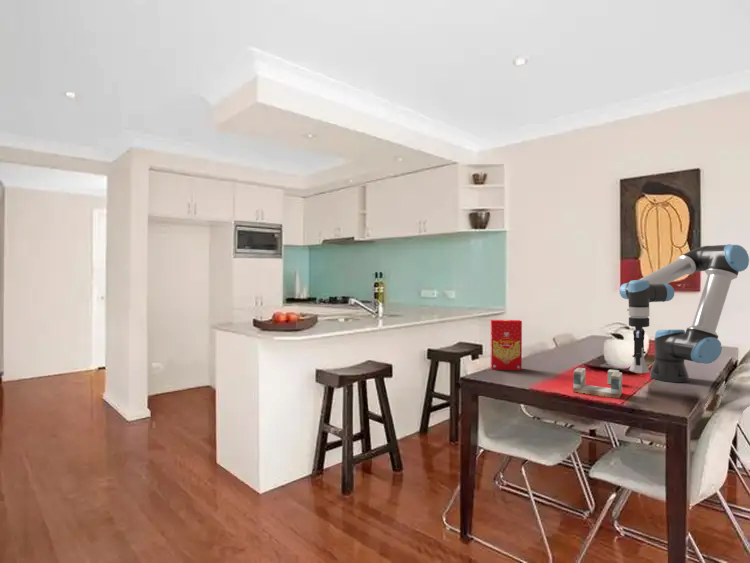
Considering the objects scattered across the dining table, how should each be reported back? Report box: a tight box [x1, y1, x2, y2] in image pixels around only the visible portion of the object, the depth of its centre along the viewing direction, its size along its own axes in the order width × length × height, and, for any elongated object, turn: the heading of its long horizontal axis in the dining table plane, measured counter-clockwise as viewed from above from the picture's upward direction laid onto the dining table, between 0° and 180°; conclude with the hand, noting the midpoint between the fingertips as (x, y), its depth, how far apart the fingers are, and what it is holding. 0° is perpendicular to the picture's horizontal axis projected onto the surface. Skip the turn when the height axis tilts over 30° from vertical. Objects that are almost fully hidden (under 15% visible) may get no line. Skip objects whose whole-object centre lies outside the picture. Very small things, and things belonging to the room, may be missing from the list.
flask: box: [628, 347, 651, 374], centre depth 191 cm, size 7×7×10 cm
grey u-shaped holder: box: [572, 367, 623, 399], centre depth 188 cm, size 17×10×9 cm, turn 55°
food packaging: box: [490, 319, 523, 371], centre depth 233 cm, size 15×5×25 cm, turn 82°
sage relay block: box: [606, 369, 620, 384], centre depth 202 cm, size 4×5×6 cm
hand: (639, 370), depth 191 cm, fingers closed on flask, 8 cm apart
